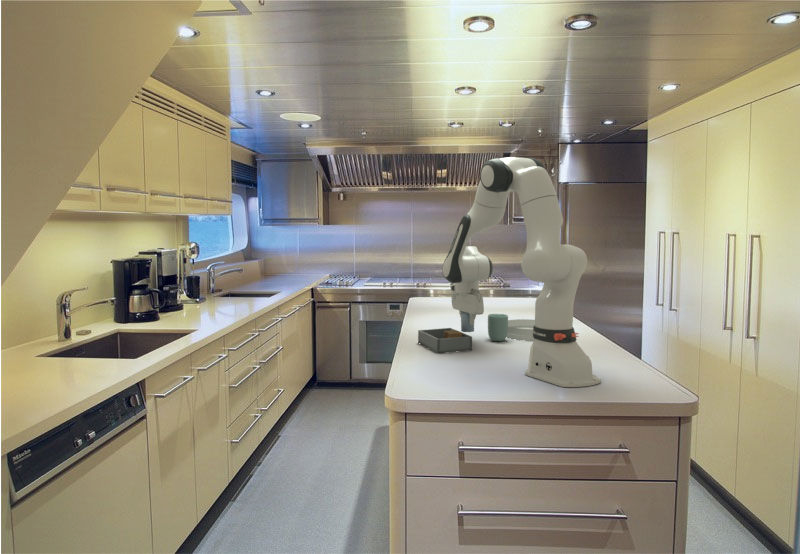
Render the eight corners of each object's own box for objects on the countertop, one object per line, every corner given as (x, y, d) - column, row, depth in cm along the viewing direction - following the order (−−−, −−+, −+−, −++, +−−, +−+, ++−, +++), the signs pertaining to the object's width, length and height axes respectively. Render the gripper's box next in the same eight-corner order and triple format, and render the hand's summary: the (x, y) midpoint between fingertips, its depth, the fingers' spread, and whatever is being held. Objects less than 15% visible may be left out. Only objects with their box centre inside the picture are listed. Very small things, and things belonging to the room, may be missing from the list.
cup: (506, 338, 209) (507, 313, 208) (508, 343, 201) (509, 317, 200) (486, 338, 210) (487, 313, 209) (488, 342, 202) (488, 316, 201)
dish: (563, 342, 204) (563, 329, 203) (506, 342, 204) (506, 329, 204) (548, 330, 226) (548, 319, 225) (497, 330, 226) (497, 319, 226)
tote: (471, 350, 189) (472, 336, 189) (437, 353, 185) (437, 339, 184) (450, 340, 206) (450, 327, 205) (418, 343, 201) (418, 330, 200)
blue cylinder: (476, 331, 203) (476, 313, 202) (464, 332, 201) (464, 314, 200) (470, 329, 207) (470, 311, 207) (458, 330, 206) (458, 312, 205)
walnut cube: (462, 346, 193) (462, 332, 192) (449, 347, 191) (449, 333, 190) (455, 343, 197) (456, 330, 197) (443, 344, 195) (443, 331, 195)
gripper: (487, 289, 194) (488, 326, 195) (462, 285, 213) (463, 319, 214) (472, 290, 192) (473, 328, 193) (448, 286, 211) (449, 320, 212)
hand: (467, 323), depth 204 cm, fingers closed on blue cylinder, 5 cm apart
